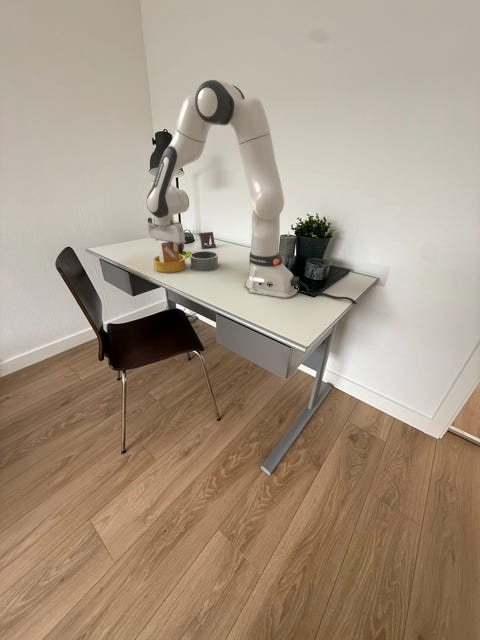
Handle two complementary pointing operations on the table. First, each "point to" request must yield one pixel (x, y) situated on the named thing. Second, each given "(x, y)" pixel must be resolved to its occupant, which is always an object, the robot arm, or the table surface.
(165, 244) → the small box
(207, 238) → the tablet stand
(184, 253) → the toy cauldron
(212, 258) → the pot
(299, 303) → the table surface
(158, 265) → the bowl
